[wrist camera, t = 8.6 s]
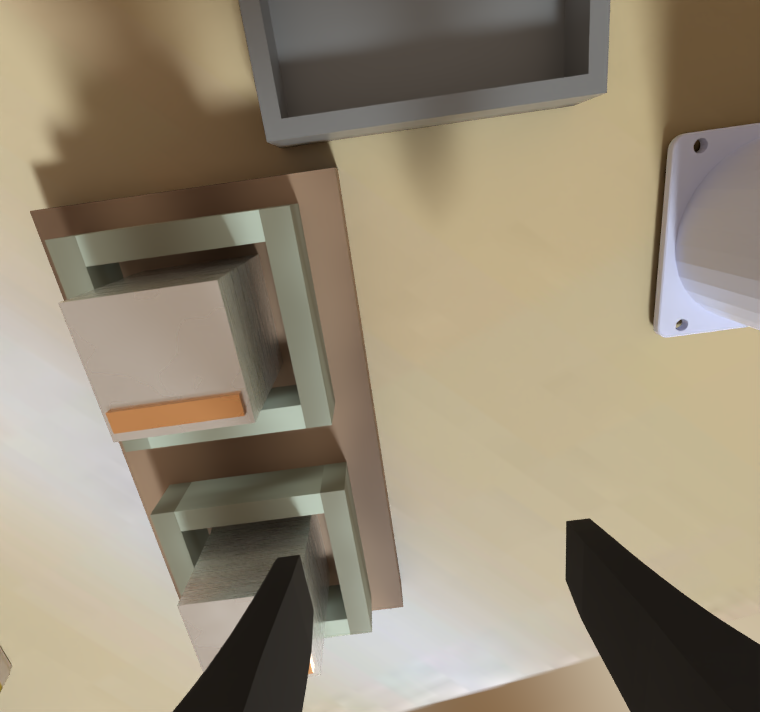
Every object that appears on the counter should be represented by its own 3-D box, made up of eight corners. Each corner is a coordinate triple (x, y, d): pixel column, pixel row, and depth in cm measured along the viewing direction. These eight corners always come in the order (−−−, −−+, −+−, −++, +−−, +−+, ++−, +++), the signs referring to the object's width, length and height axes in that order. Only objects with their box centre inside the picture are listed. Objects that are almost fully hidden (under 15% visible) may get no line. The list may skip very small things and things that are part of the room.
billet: (313, 500, 21) (298, 594, 16) (330, 572, 22) (320, 679, 18) (219, 512, 21) (175, 609, 16) (242, 584, 23) (208, 692, 18)
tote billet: (258, 254, 17) (215, 281, 12) (283, 363, 19) (253, 425, 14) (142, 270, 17) (54, 304, 12) (177, 377, 19) (111, 444, 14)
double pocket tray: (337, 168, 17) (330, 165, 14) (401, 582, 25) (406, 643, 22) (56, 208, 18) (-15, 214, 14) (202, 607, 25) (177, 670, 22)
